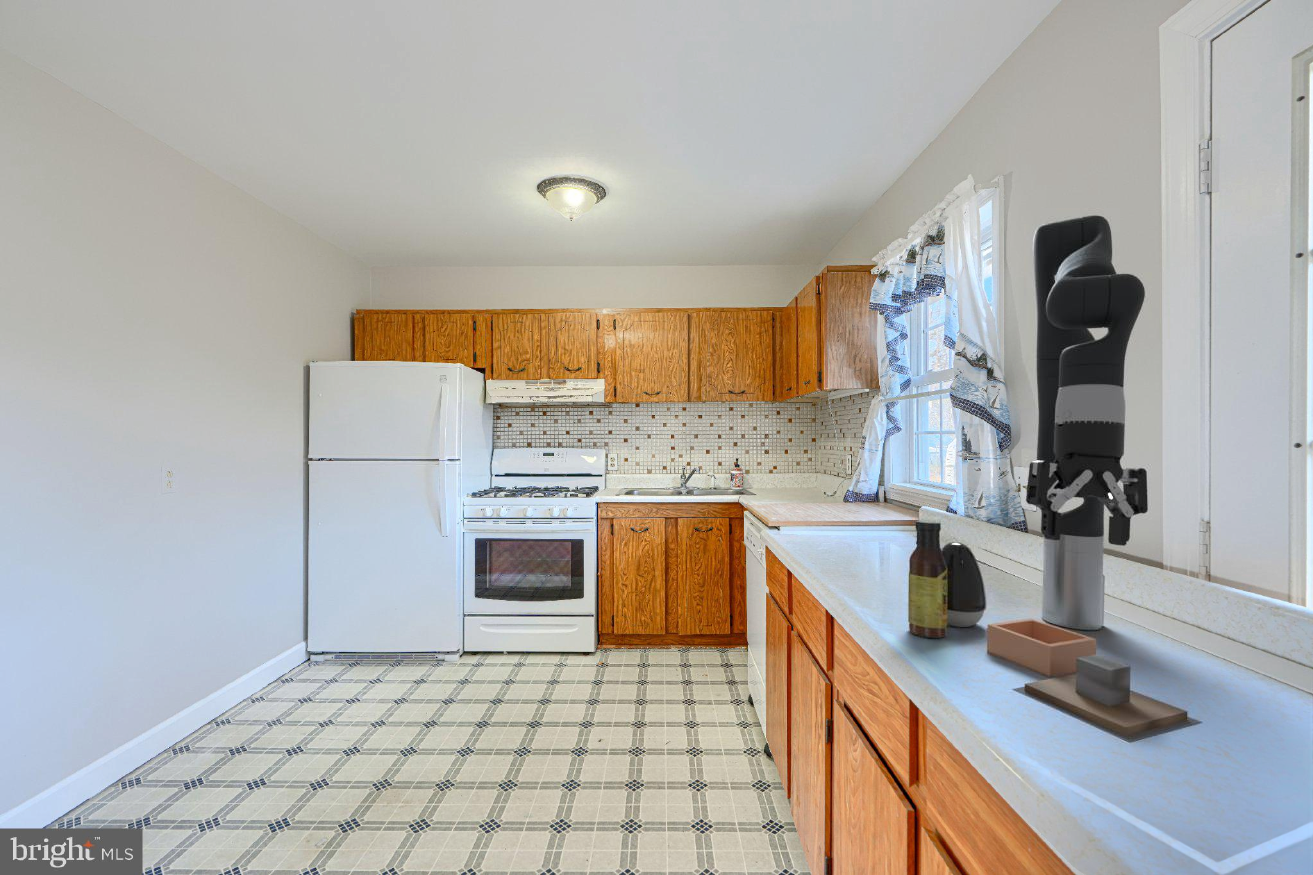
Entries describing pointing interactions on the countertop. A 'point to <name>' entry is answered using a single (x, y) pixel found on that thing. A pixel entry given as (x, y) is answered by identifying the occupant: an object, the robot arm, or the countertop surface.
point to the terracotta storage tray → (1039, 646)
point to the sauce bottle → (927, 583)
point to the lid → (1106, 697)
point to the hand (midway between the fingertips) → (1084, 542)
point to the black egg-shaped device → (963, 586)
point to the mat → (1127, 738)
